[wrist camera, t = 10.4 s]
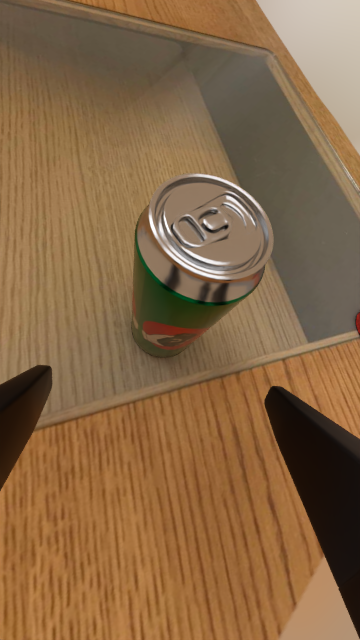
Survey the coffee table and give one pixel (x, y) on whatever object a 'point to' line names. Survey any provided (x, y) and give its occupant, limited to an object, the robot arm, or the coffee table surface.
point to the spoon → (358, 322)
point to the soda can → (194, 259)
